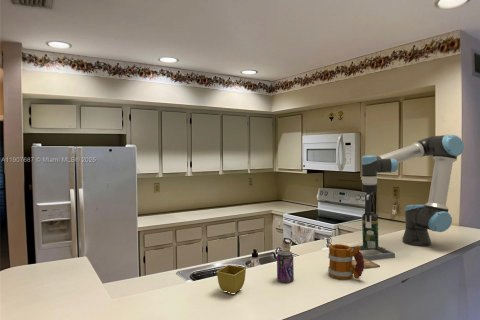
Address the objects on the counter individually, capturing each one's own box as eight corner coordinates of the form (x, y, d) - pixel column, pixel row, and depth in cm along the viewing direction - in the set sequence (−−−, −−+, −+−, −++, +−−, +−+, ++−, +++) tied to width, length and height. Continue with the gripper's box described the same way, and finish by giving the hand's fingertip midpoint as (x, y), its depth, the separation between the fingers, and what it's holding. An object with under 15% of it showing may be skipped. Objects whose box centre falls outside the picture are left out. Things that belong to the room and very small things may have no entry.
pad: (365, 259, 164) (365, 258, 164) (379, 267, 153) (379, 265, 153) (346, 262, 161) (346, 260, 161) (359, 269, 150) (359, 267, 150)
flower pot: (235, 298, 122) (234, 275, 122) (216, 293, 127) (216, 271, 127) (246, 290, 130) (246, 268, 130) (228, 285, 134) (228, 264, 134)
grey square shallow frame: (373, 248, 183) (373, 243, 183) (395, 257, 166) (394, 251, 166) (347, 251, 179) (347, 245, 179) (366, 260, 162) (366, 254, 162)
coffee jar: (363, 244, 179) (363, 211, 178) (379, 245, 175) (378, 211, 175) (361, 248, 170) (361, 213, 170) (377, 250, 166) (377, 214, 166)
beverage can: (283, 284, 134) (283, 256, 134) (274, 279, 141) (273, 251, 141) (297, 281, 138) (296, 253, 138) (287, 276, 144) (286, 249, 144)
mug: (335, 269, 152) (334, 237, 151) (369, 278, 140) (369, 244, 140) (322, 275, 144) (322, 242, 144) (358, 285, 132) (357, 249, 132)
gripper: (365, 182, 183) (366, 221, 184) (358, 185, 164) (358, 229, 165) (379, 182, 180) (380, 222, 180) (373, 186, 161) (374, 230, 161)
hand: (370, 225), depth 172 cm, fingers closed on coffee jar, 9 cm apart
